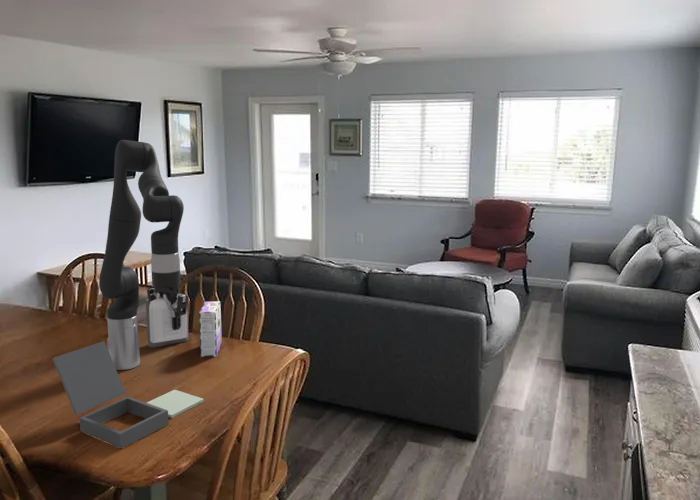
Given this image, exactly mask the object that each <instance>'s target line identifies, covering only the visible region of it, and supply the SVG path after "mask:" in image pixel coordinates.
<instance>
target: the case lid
mask: <svg viewBox="0 0 700 500" xmlns="http://www.w3.org/2000/svg"><path fill="white" fill-rule="evenodd" d="M52 362H53V364H54V366H55V369H56V371H57V374H58V376H59V378H60V381H61V383H62V386H63V388H64V391H65V392H66V396H67V399H68V400H69V404H70V406H71V408H72V411H73V413H74V416H77V415H79V414H82V413H85V412H87V411H89V410H91V409H94V408H96V407H98V406H100V405H103V404H106V403H107V402H109V401H112V400H114V399H117V398H119V397H122V396H124V395H126V390H125V388H124V385H123V383H122V380H121V378H120V376H119V374H118V370H116V368H115V366H114V363H113V361H112V359H111V356H110V354H109V351H108V346H107V345H106V341H105V340H103V341H100V342H98V343H94V344H92V345H88V346H84V347H81V348H79V349H76V350H73V351H69V352H66V353H63V354H60V355H57V356H55V357H53V358H52Z"/></svg>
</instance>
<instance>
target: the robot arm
mask: <svg viewBox="0 0 700 500" xmlns="http://www.w3.org/2000/svg"><path fill="white" fill-rule="evenodd" d="M113 167H114V169H113V189H112V196H111V202H110V210H109V217H108V227H107V228H108V229H107V238H106V243H105V251H104V256H103V262H102V264H101V268H100V269H101V270H100V274H99V281H98V284H99V286H98V287H99V291H100V293H101V295H102V296H103V297H104V298H106V299H109V300H112V299H115V301H114V302H113V303H112V304H111V305H110V306H108V307H107V310H106V315H107V316H106V317H107V319H106V320H107V321H106V322H107V332H108V333H107V334H108V337H107V339H106V340H107V341H106V342H107V349H108V351H109V354H110V356H111V359H112V361H113V363H114V366H115V368H116V371H127V370H130V369H134V368H137V367H138V366H139V365H140V364H141V361H140V359H141V358H140V341H139V340H140V339H139V326H138V325H139V324H138V308H139V306H140V296H139V295H140V288H139V286H140V284H139V277H138V274H137V272H136V271H135V270H134V268H132V267H130V266H124V262H125V259H126V257H127V255H128V253H129V252H130V249H131V248H132V247H133V245H134V243H135V242H136V240H137V238H138V235H139V233H140V229H141V228H140V227H141V220H142V215H143V218H144V219H145V220H146V221H147V222H149V223H165V222H166V223H168V224H167V225H166V226H165V227H164V228H163V229H158V230H155V231H153V232H152V233H151V234H150V245H151V246H150V250H151V258H150V264H151V265H150V266H151V267H150V268H151V271H150V272H151V286H152V287H151V288H148V289H146V293H147V299H148V301H149V305H150V302H151V301H153V300H155V299H158V298H159V299H160V298H161V297H162V298H164V300H165V301H166V304H167V307H168V309H169V310H170V311H171V314H172V329H173V330H178V329H180V327H181V316H182V315H185V314H186V311H187V312H188V299H189V297H188V294H187V293H181V292H180V290H179V289H180V288H179V286H180V285H181V283H182V282H181V260H180V253H179V233H180V226H181V223H182V220H183V215H184V202H183V201H182V199H181V198H180V197H179V196H178V195H172V194H171V195H170V192H169V189H168V188H167V185H166V183H165V181H164V179H163V178H162V175H161V171H160V166H159V160H158V157H157V154H156V150H155V148H154V146H153V145H152V144H150V143H149V142H143V141H137V140H128V139H120V140H119V141H118V142H117V144H116V147H115V152H114V165H113ZM128 172H132V173H133V172H135V173H141V174H140V176H139V178H138V180H137V181H138V182H137V185H138V191H139V192H140V194H141V196H142V199H143V201H142V202H143V203H142V211H141V208H140V206H139V204H138V202H137V200H136V198H135V197H134V195H133V194H132V191H131V189H130V186H129V183H128V177H127V174H128ZM183 294H184V295H183ZM176 301H177V305H175V306H172V304H174V303H175V302H176ZM174 308H176V309H177V312H176V313H175V310H174ZM181 309H182V311H181Z"/></svg>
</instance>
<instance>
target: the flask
mask: <svg viewBox="0 0 700 500" xmlns="http://www.w3.org/2000/svg"><path fill="white" fill-rule="evenodd" d="M182 294H183V295H184V294H185V293H182ZM188 315H189V314H188V311H187V338H182V339H176V340H170V341H164V342H157V343H152V342H151V341H150V319H149V301H148V298H146V299H145V316H146V333H147V347H149V348H152V349H153V348H154V349H155V348H159V347H164V346H167V345H172V344H173V345H174V344H180V343H185V342H188V341H189V339H190V338H189V316H188Z"/></svg>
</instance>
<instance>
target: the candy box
mask: <svg viewBox="0 0 700 500" xmlns="http://www.w3.org/2000/svg"><path fill="white" fill-rule="evenodd" d="M221 306H222V305H221V301H220V300H219V301H204V302H203V305H202V307H201V309H200V310H199V313H198V315H199V317H198V319H199V320H198V321H199V345H200V349H199V351H200V358H204V357H205V358H207V357H209V358H210V357H212V358H216V357H217V356H218V354H219V351H220V348H221V346H222V344H223V339H222V334H223V333H222V310H221Z"/></svg>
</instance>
